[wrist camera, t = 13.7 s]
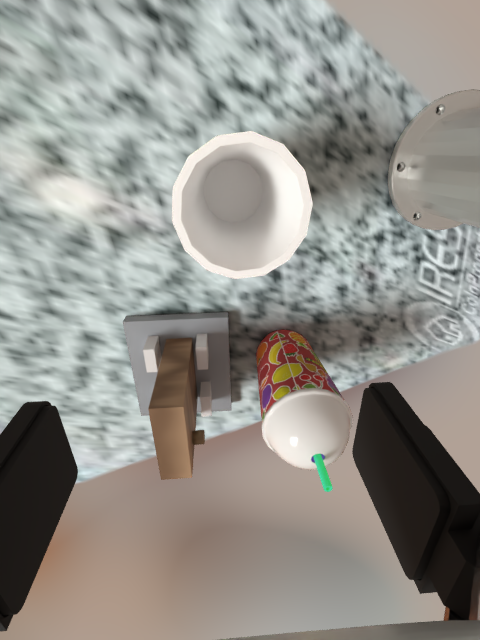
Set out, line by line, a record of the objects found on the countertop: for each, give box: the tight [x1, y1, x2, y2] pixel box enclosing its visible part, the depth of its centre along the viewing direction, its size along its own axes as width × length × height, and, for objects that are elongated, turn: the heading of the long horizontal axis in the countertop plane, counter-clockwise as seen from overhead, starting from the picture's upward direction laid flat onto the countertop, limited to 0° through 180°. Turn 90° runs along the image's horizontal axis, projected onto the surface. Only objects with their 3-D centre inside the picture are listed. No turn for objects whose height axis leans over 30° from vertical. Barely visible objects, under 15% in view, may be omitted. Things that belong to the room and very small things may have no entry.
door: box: [148, 338, 205, 480], centre depth 36 cm, size 4×9×12 cm, turn 1°
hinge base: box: [123, 312, 231, 417], centre depth 41 cm, size 12×14×4 cm
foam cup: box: [172, 131, 313, 279], centre depth 28 cm, size 10×9×13 cm
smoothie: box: [256, 329, 353, 492], centre depth 34 cm, size 8×8×20 cm
